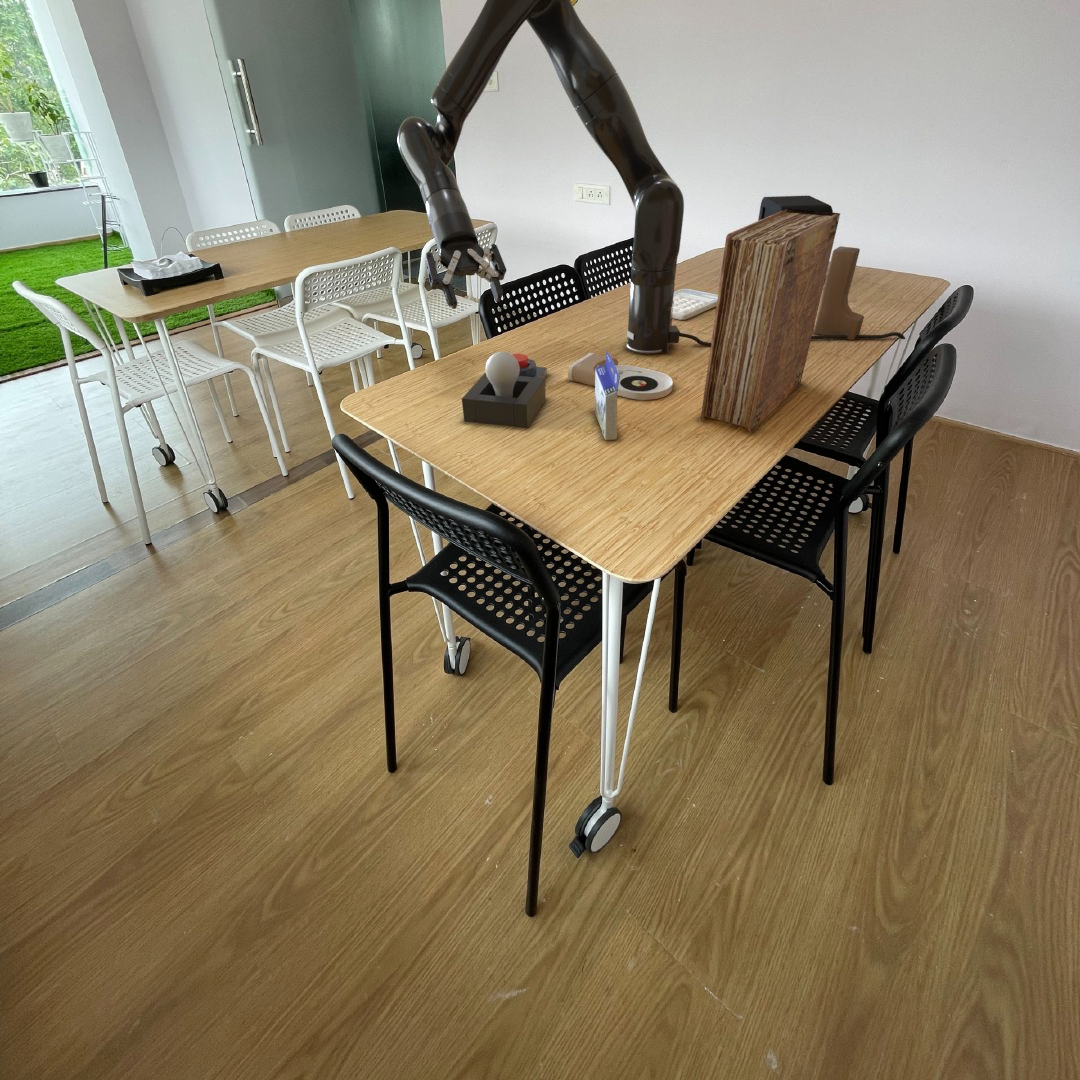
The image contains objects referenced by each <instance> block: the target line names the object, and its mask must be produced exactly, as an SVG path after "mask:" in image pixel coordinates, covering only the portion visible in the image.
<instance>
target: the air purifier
mask: <svg viewBox="0 0 1080 1080" xmlns="http://www.w3.org/2000/svg"><path fill="white" fill-rule="evenodd" d="M785 209H793V210H806V211H819V212H832V213H834V210H833V207H832V206H831V205H830V204H828V203H826V202H824V201H822V200H820V199H819V198H815V197H813V196H811V195H781V196H777V195H776V196H763V197H762V199H761V202H760V206H759V213H758V218H757V221H759V220H762V219H764V218H766V217H769V216H771V215H773V214H776V213H778V212H780V211H783V210H785Z"/></svg>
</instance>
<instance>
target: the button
mask: <svg viewBox="0 0 1080 1080" xmlns="http://www.w3.org/2000/svg"><path fill="white" fill-rule="evenodd" d="M511 354H512V355H513V356H514V357H515V358H516V359H517V361H518V363H519V367H520V369H522V368H526V367H528V359H529V356H528V355H526V354H523V353H511Z"/></svg>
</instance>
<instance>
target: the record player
mask: <svg viewBox="0 0 1080 1080" xmlns="http://www.w3.org/2000/svg"><path fill="white" fill-rule="evenodd" d="M611 358H612V360H613V362H614V365H615V367H616V369H617V371H618V373H619V375H620V379H619V385H618V392H617V396H619V397H622V398H627V399H631V400H632V399H633V400H638V401H646V400H647V401H650V400H657V399H661V398H664V397H666V396H668V395H669V394H671V392H672V391H673V383H674V382H673V379H672V378H671V376H670V375H668V374H666V373H664V372H662V371H659V370H655V369H654V370H653V369H650V368H649V369H648V368H645V367H641V366H635V365H631V364H619V360H618V359H617V358H616V357H612V356H611ZM603 365H606V355H602V354H598V353H594V352H589V353H588V354H586V355H584V356H582V357H581V358H580V359H578V360H576V361H575V362H573V363H571V364H570V365H569V366H568V370H567V379H568V380H569V381H571V382H576V383H580V384H583V385H587V386H591V387H595V369H596V368H598V367H601V366H603ZM611 371H612V373H613V375H614V372H613V368H611Z"/></svg>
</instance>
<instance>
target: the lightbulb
mask: <svg viewBox="0 0 1080 1080" xmlns="http://www.w3.org/2000/svg"><path fill="white" fill-rule="evenodd" d="M512 354H513V353H510V352H508V351H497V352H494V353H493V354H491V355H490V356H489V357H488V359H487V360H486V363H485V373H486V375H487V377H488V379H489V381H490V382H491V384H492V385H493V388H494V390H495V394H496V396H501V397H513V388H514V384H515V382H516V381H517V378H518V376H519V372H520V367H519V363H518V361H517V359H516V358H515V357H514V356H513V355H512Z"/></svg>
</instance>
